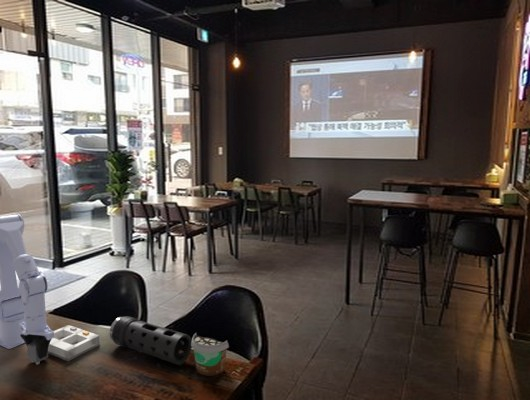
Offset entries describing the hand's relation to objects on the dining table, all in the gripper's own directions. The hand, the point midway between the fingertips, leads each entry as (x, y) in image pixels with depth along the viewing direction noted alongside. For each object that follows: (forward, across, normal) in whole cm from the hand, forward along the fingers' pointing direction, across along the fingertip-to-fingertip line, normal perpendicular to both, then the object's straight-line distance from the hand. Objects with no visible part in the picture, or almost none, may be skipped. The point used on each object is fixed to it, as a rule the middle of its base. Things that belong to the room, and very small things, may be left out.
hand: (38, 355), depth 129 cm
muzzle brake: (+2, +27, +20) cm, 34 cm away
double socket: (+2, 0, +10) cm, 11 cm away
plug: (+2, 0, 0) cm, 2 cm away
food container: (+2, +49, +22) cm, 54 cm away
